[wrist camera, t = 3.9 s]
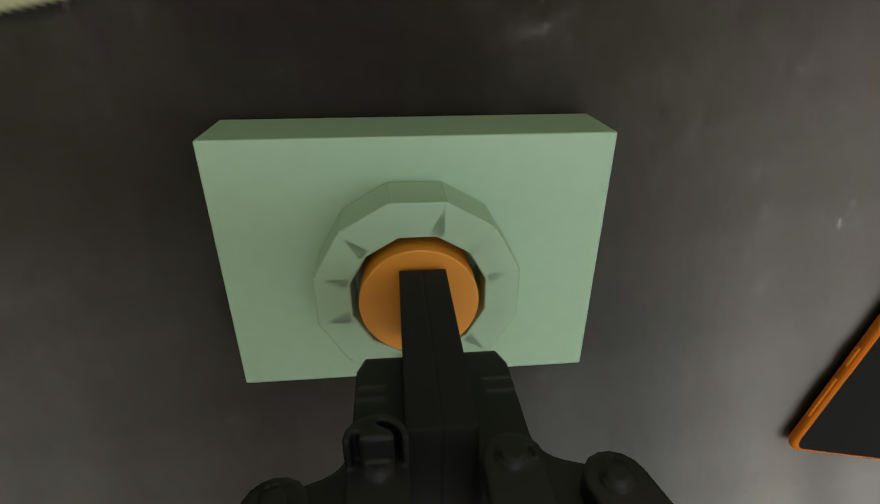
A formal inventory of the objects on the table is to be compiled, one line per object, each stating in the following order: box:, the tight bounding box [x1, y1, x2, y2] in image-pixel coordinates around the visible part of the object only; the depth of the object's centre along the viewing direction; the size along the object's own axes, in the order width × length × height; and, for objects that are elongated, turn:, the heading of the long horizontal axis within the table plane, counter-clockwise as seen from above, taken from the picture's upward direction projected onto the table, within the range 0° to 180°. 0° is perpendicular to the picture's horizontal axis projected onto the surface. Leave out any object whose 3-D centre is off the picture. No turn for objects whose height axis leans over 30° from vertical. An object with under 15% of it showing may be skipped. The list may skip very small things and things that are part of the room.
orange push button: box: [359, 237, 479, 350], centre depth 18 cm, size 4×4×2 cm
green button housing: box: [193, 114, 617, 383], centre depth 19 cm, size 14×10×5 cm
